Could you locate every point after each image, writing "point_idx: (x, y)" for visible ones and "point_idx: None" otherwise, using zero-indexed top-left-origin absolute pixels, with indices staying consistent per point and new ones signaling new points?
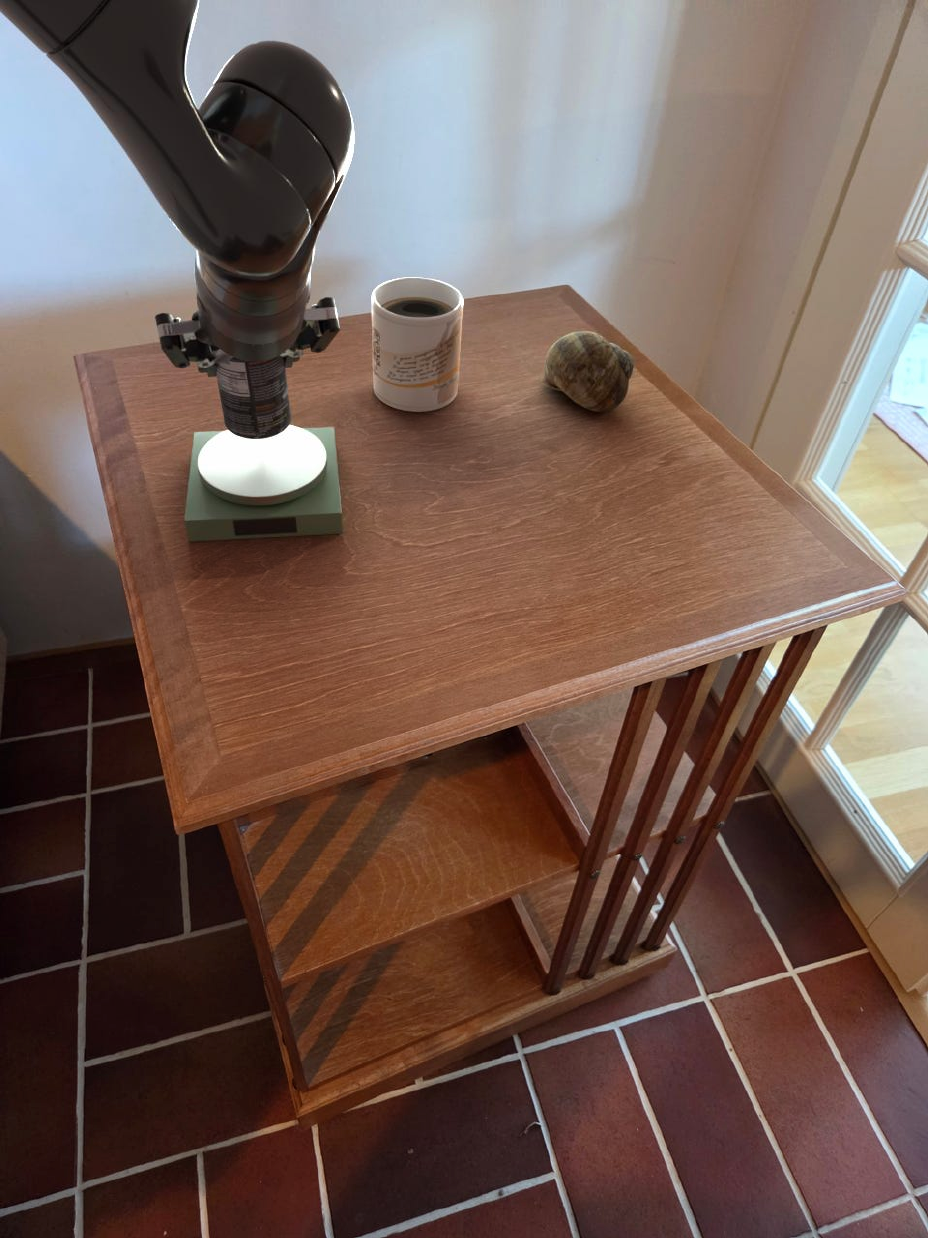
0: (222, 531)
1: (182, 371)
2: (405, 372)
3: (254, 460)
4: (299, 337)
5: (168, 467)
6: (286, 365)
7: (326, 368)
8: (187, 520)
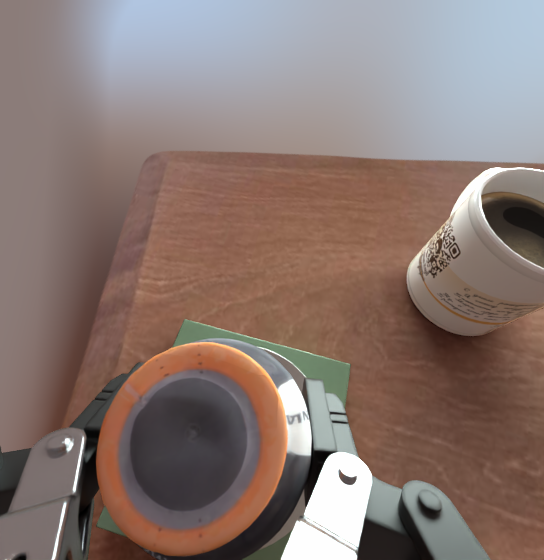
0: None
1: (221, 193)
2: (469, 306)
3: None
4: (363, 542)
5: (150, 345)
6: None
7: (361, 226)
8: (100, 527)
